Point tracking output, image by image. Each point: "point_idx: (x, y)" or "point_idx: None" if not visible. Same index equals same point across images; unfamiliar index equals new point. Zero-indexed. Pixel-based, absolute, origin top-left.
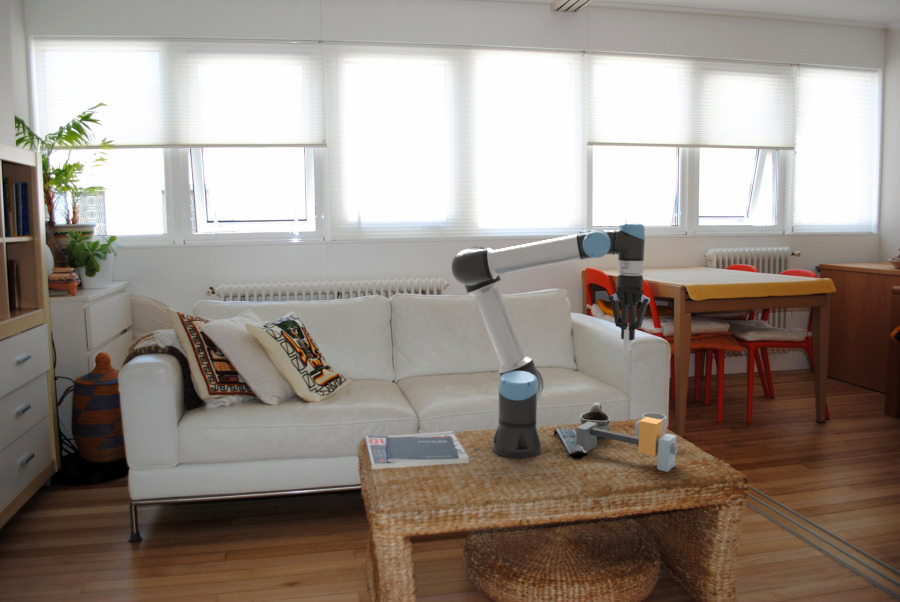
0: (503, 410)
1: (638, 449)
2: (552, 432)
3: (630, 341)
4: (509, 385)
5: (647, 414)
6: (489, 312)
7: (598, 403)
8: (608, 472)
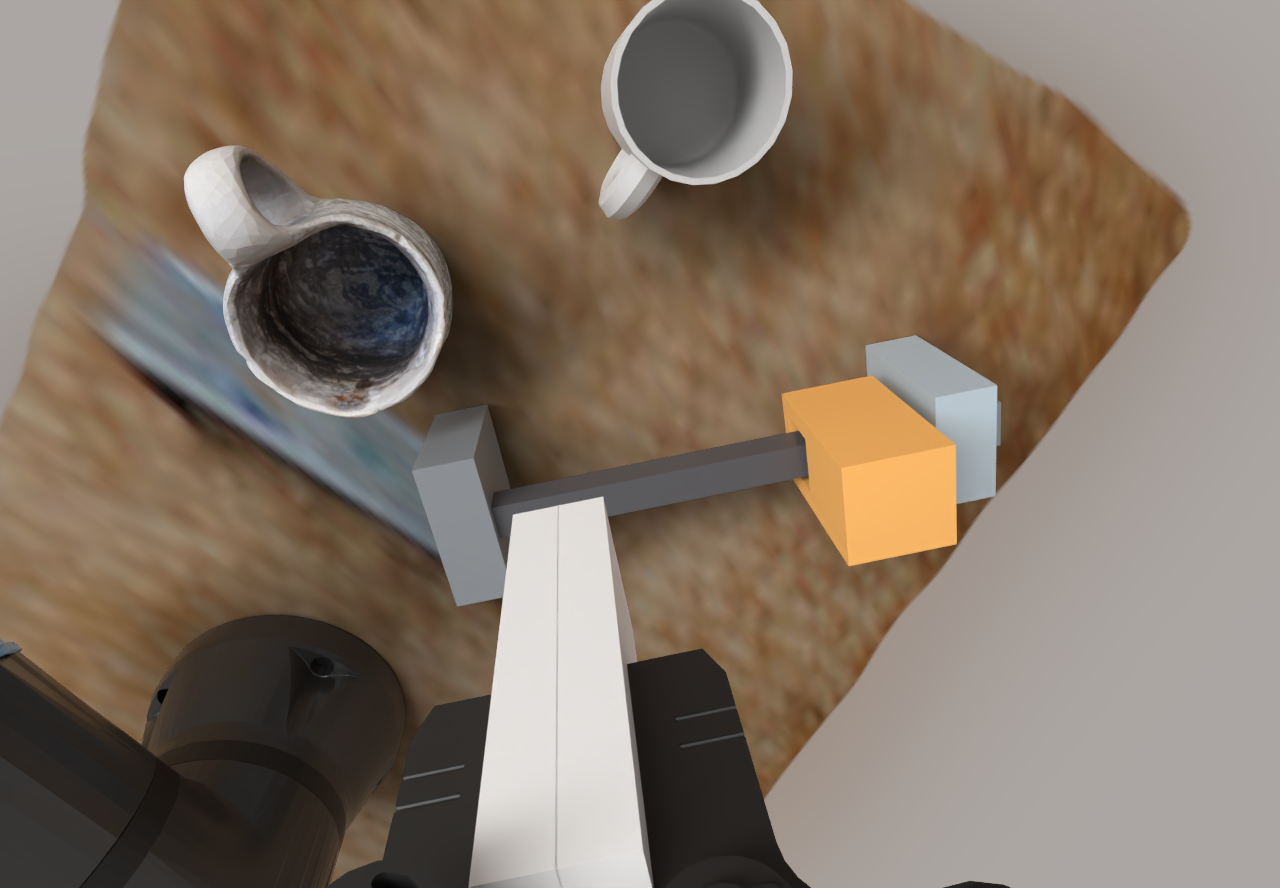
0: None
1: (795, 482)
2: (158, 407)
3: (625, 647)
4: None
5: (621, 53)
6: None
7: (235, 213)
8: (731, 612)
